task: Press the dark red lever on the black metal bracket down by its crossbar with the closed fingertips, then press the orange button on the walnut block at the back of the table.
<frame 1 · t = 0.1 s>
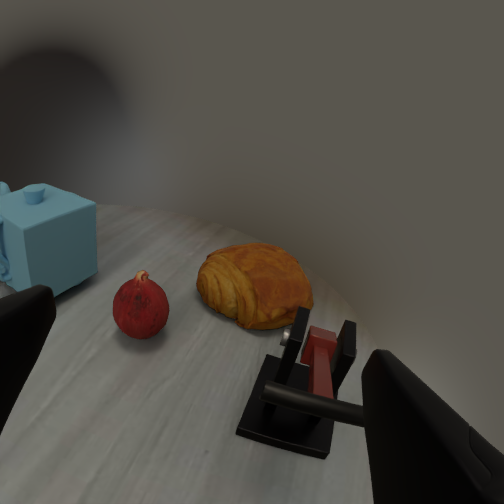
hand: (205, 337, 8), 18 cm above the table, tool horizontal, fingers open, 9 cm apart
bracket: (291, 407, 28), on the table
croissant: (254, 301, 43), on the table
teapot: (32, 274, 37), on the table
lever: (319, 368, 20), point 10 cm above the table, hinge at 22.0°
onion: (141, 337, 32), on the table
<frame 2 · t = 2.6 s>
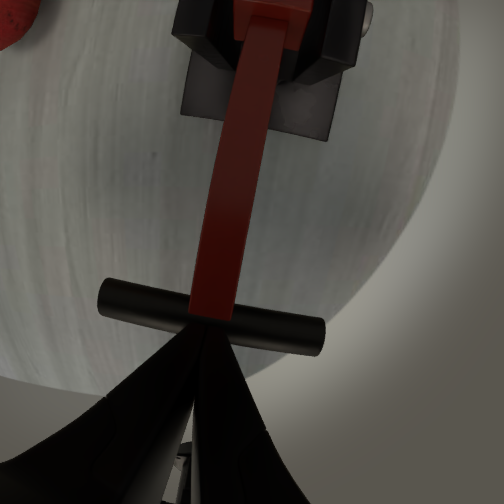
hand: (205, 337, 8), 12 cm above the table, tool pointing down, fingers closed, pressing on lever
bracket: (271, 42, 15), on the table
lever: (248, 116, 8), point 10 cm above the table, hinge at 21.9°, touching gripper
onion: (33, 16, 13), on the table
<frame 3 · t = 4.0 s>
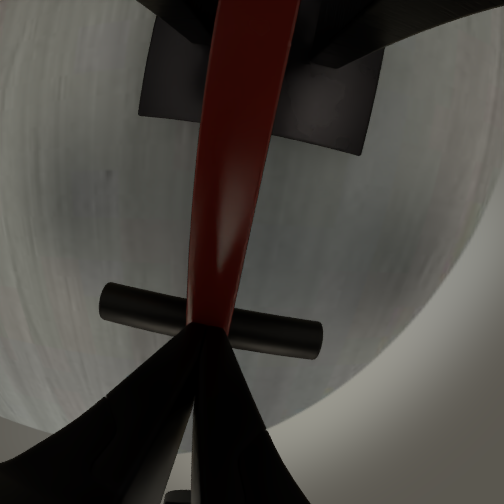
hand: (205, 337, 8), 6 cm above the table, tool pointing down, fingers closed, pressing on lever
bracket: (275, 7, 9), on the table
lever: (238, 120, 5), point 7 cm above the table, hinge at -14.8°, touching gripper
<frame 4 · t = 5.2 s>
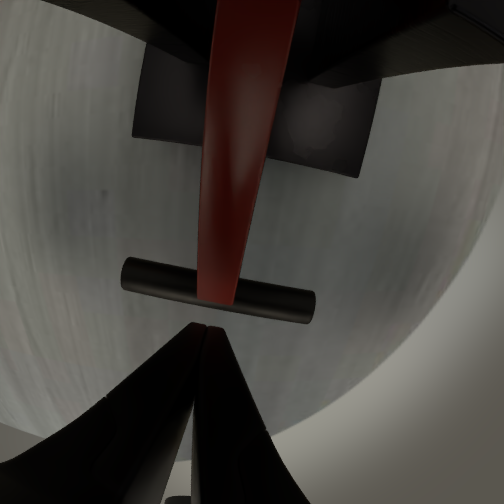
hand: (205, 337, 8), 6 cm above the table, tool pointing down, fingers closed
bracket: (271, 22, 9), on the table
lever: (237, 140, 6), point 6 cm above the table, hinge at -26.9°
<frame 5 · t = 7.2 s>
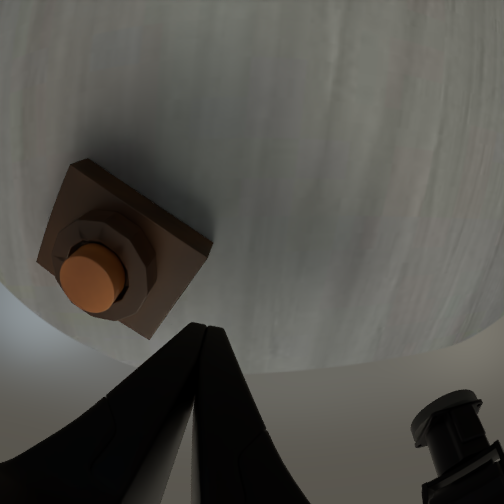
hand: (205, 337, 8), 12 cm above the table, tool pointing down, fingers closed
button block: (121, 245, 21), on the table
button: (92, 278, 17), point 4 cm above the table, slide at 0.1 cm
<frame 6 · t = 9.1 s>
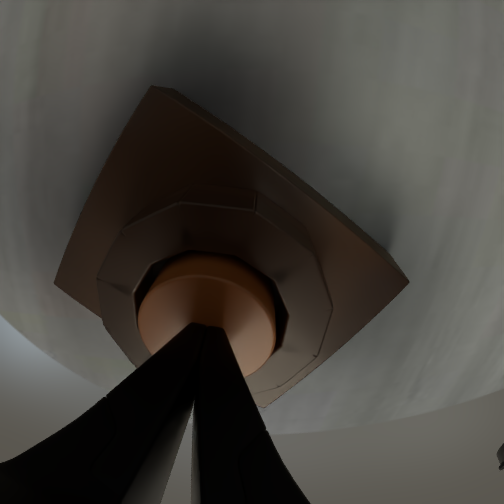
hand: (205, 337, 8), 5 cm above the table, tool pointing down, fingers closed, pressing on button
button block: (224, 256, 12), on the table
button: (209, 317, 9), point 4 cm above the table, slide at -0.6 cm, touching gripper
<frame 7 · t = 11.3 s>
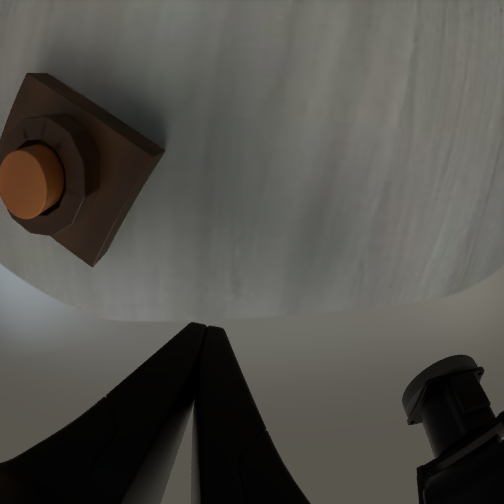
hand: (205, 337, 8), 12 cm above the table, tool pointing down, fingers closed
button block: (71, 162, 17), on the table
button: (30, 180, 13), point 4 cm above the table, slide at 0.1 cm
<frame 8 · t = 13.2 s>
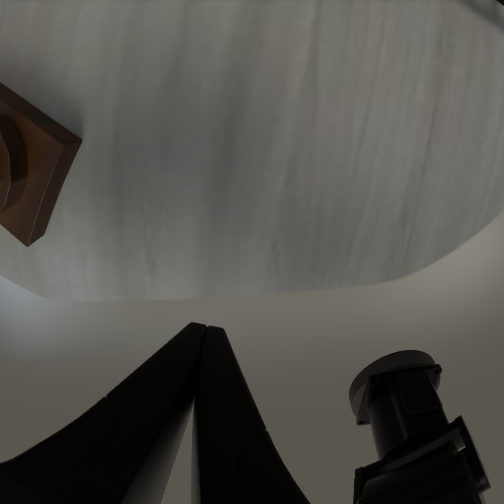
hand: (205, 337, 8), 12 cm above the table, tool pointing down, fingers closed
button block: (15, 156, 18), on the table
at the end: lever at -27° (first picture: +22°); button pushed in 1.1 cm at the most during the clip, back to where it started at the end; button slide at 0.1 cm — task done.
